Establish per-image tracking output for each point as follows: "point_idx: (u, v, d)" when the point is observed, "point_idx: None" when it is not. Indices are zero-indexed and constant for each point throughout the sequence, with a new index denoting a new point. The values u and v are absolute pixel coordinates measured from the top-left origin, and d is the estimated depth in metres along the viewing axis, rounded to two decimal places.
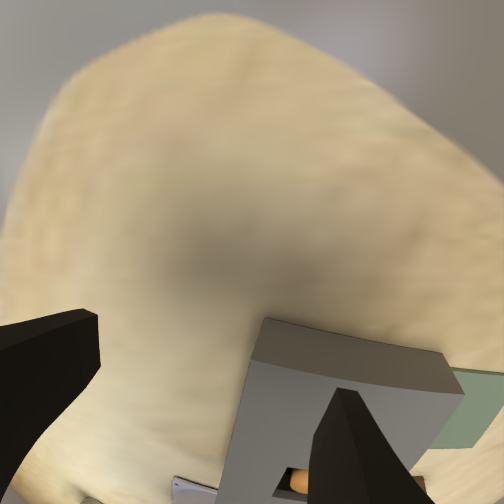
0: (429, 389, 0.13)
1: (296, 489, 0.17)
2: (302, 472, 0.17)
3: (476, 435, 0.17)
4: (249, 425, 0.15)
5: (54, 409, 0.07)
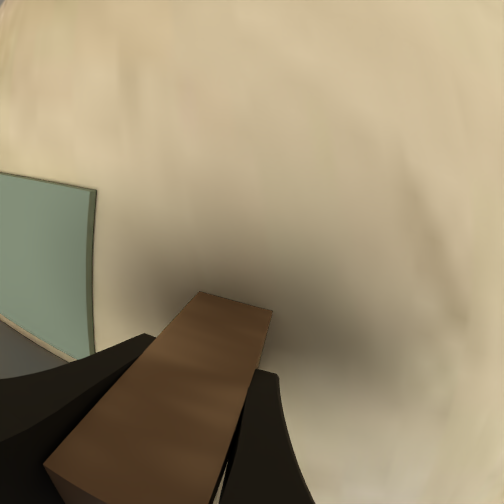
0: None
1: None
2: None
3: (58, 204, 0.11)
4: None
5: None
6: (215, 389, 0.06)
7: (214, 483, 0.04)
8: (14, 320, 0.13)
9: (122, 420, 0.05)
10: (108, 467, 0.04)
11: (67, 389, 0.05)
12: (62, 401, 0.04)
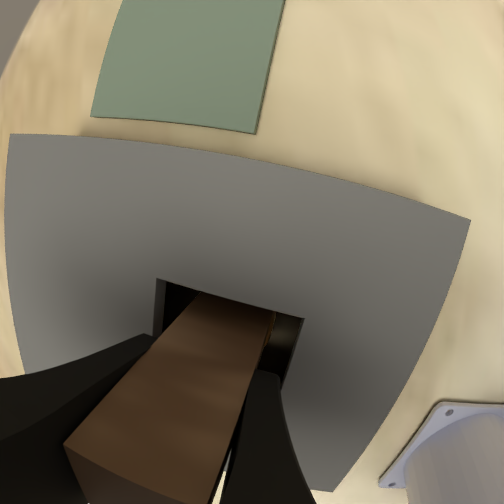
0: None
1: None
2: None
3: None
4: None
5: None
6: (221, 375, 0.07)
7: (222, 458, 0.05)
8: (126, 113, 0.12)
9: (137, 403, 0.05)
10: (125, 445, 0.04)
11: (67, 388, 0.05)
12: (61, 400, 0.04)
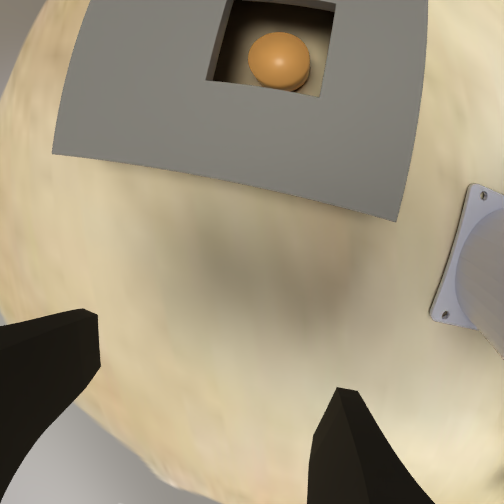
0: None
1: (303, 75, 0.12)
2: None
3: None
4: (122, 144, 0.12)
5: (54, 409, 0.07)
6: None
7: None
8: None
9: None
10: None
11: None
12: None
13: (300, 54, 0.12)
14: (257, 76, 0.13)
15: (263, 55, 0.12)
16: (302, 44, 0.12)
